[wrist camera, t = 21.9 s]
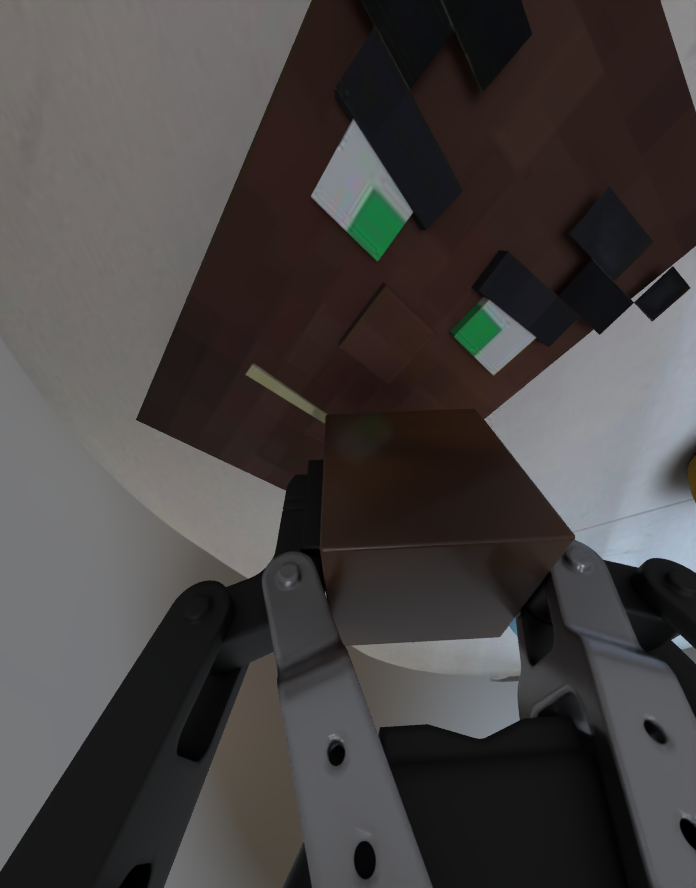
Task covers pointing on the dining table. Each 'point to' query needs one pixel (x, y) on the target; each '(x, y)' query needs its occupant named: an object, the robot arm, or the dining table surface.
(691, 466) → the apple
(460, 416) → the walnut block
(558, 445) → the dining table surface
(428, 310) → the decorative book
